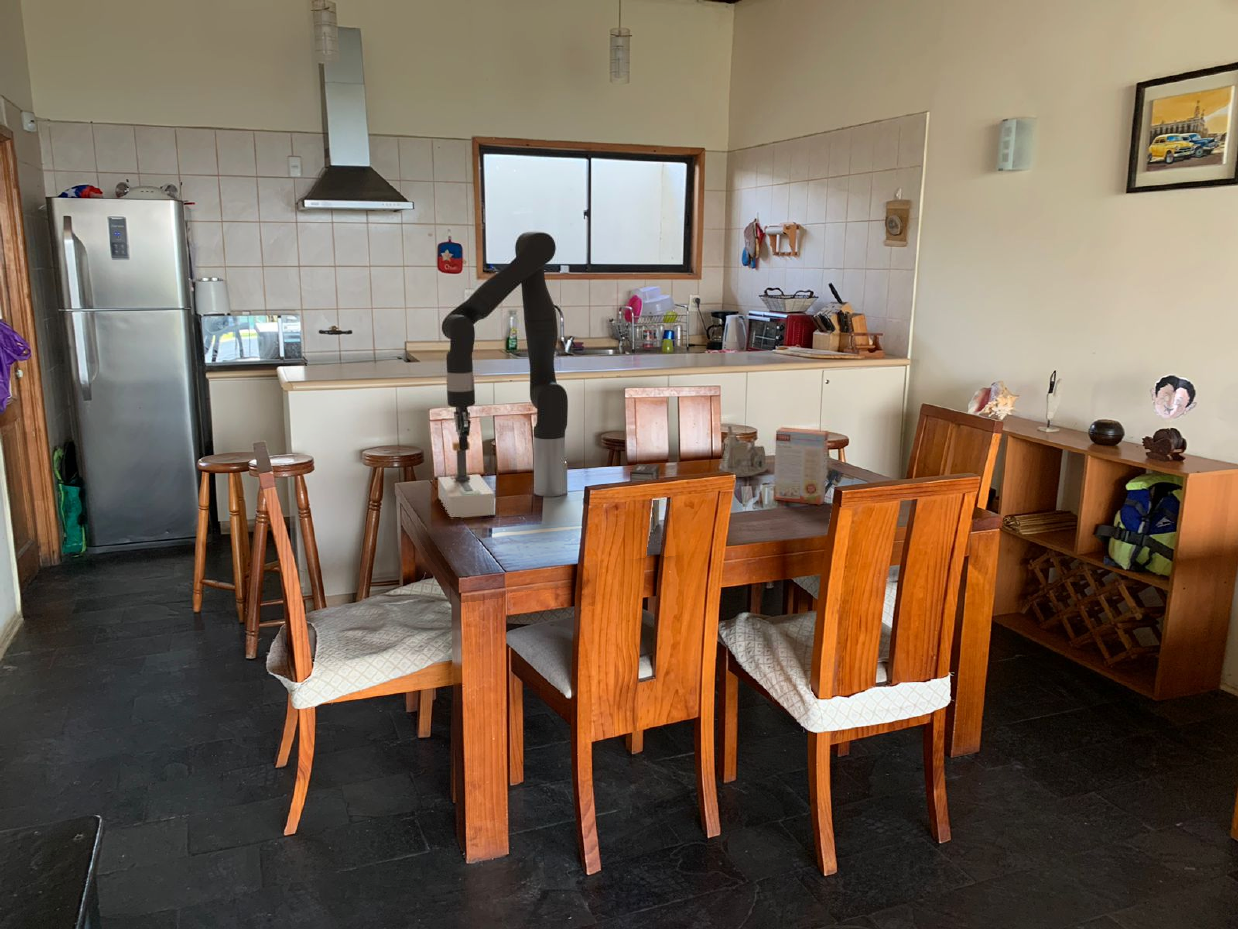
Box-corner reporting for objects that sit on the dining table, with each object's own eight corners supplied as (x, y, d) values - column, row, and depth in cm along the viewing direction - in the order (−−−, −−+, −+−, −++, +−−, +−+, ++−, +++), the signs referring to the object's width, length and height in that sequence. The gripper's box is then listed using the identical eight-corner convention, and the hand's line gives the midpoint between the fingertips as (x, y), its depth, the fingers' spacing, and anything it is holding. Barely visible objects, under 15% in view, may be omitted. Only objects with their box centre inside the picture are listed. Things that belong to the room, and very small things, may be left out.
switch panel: (479, 494, 273) (479, 473, 271) (494, 514, 253) (494, 492, 251) (438, 497, 269) (437, 476, 268) (450, 518, 249) (449, 496, 247)
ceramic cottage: (721, 476, 296) (726, 429, 293) (716, 466, 312) (721, 422, 309) (770, 479, 296) (775, 433, 293) (763, 469, 312) (767, 425, 309)
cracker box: (825, 500, 269) (829, 430, 264) (820, 506, 264) (824, 434, 259) (778, 495, 275) (781, 425, 270) (772, 500, 269) (775, 429, 264)
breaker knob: (468, 477, 266) (467, 440, 264) (470, 480, 263) (469, 442, 261) (453, 478, 265) (452, 441, 262) (455, 481, 262) (453, 443, 259)
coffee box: (635, 521, 248) (636, 463, 244) (659, 523, 246) (660, 464, 243) (629, 531, 239) (629, 471, 235) (653, 533, 238) (654, 472, 234)
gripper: (478, 391, 249) (481, 453, 253) (470, 383, 261) (472, 443, 265) (450, 392, 247) (453, 456, 251) (443, 385, 259) (446, 445, 263)
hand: (463, 449), depth 258 cm, fingers closed
